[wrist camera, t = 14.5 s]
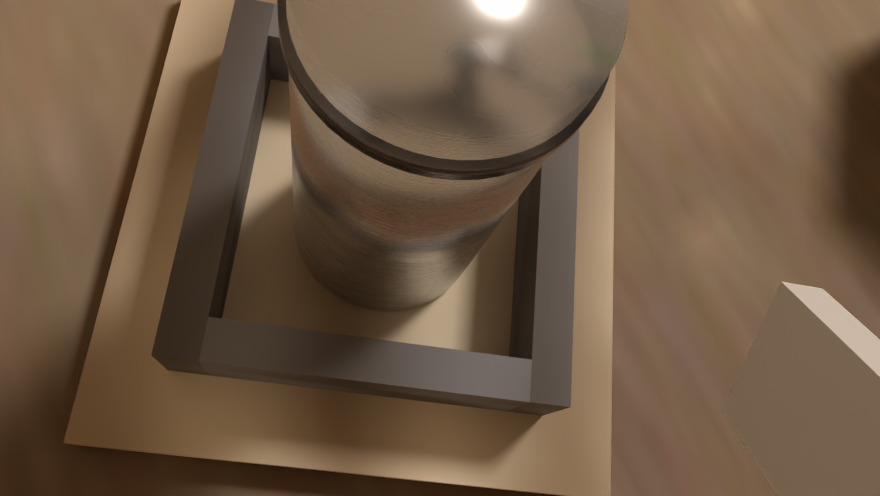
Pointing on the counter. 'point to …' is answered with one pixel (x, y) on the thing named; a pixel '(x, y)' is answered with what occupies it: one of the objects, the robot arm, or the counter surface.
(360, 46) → the steel piston
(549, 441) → the collar plate
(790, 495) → the robot arm
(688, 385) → the counter surface
